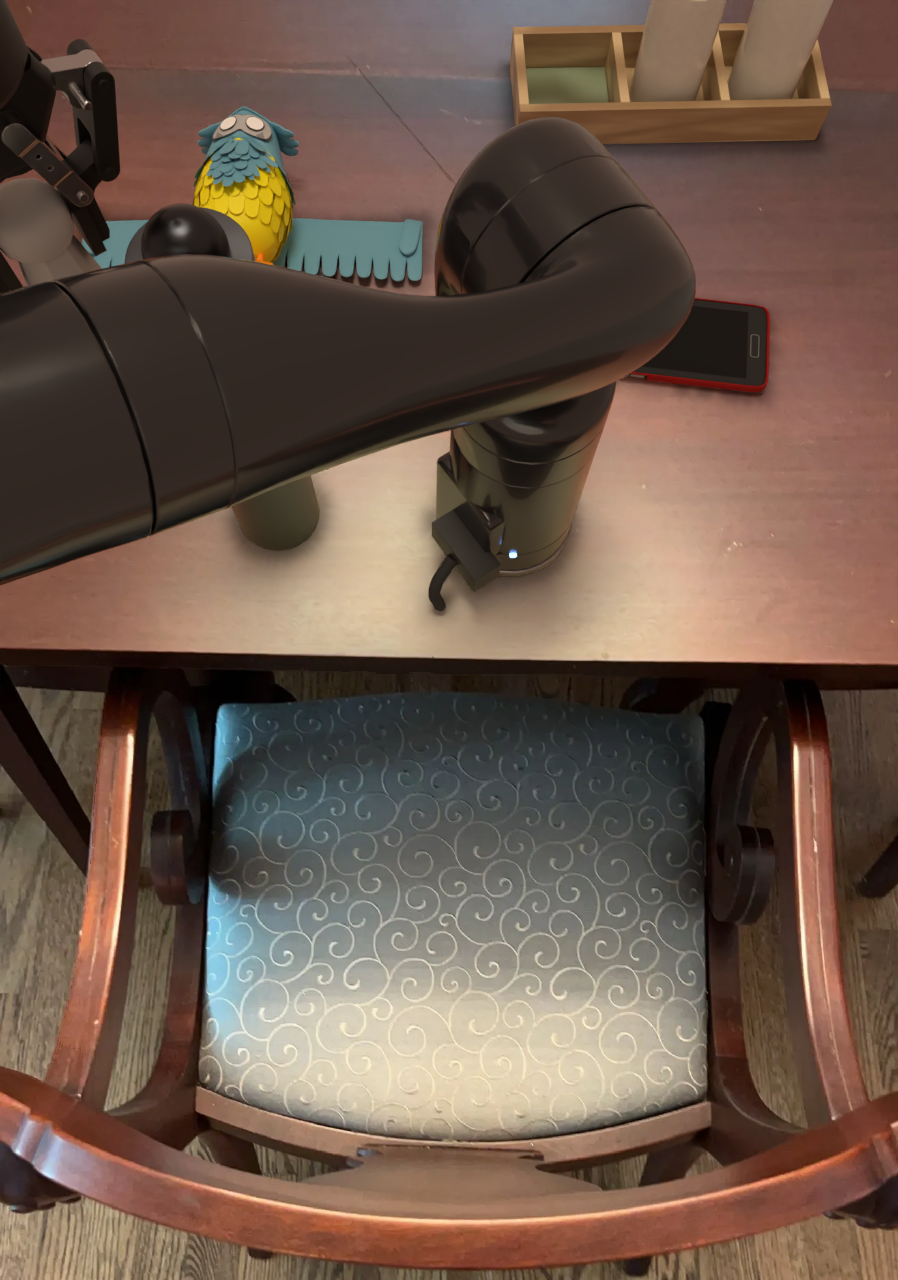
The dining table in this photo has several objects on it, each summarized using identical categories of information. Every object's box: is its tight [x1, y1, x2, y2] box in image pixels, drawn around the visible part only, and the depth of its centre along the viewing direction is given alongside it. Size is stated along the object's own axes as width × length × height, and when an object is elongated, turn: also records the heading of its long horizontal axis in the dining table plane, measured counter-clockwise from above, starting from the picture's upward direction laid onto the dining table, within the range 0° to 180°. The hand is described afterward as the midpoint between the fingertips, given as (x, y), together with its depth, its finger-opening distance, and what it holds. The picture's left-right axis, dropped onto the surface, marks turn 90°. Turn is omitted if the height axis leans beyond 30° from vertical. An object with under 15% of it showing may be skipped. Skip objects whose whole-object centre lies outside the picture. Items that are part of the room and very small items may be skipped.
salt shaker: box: [0, 177, 102, 286], centre depth 55 cm, size 6×6×13 cm
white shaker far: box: [727, 0, 835, 100], centre depth 77 cm, size 6×6×13 cm
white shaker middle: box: [629, 0, 728, 102], centre depth 77 cm, size 6×6×13 cm
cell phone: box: [624, 297, 771, 393], centre depth 76 cm, size 8×15×1 cm, turn 83°
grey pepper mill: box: [125, 203, 320, 551], centre depth 57 cm, size 6×6×30 cm
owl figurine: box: [81, 105, 424, 283], centre depth 75 cm, size 28×9×15 cm
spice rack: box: [509, 22, 833, 145], centre depth 82 cm, size 9×26×4 cm, turn 93°
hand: (53, 263), depth 53 cm, fingers closed on salt shaker, 4 cm apart
